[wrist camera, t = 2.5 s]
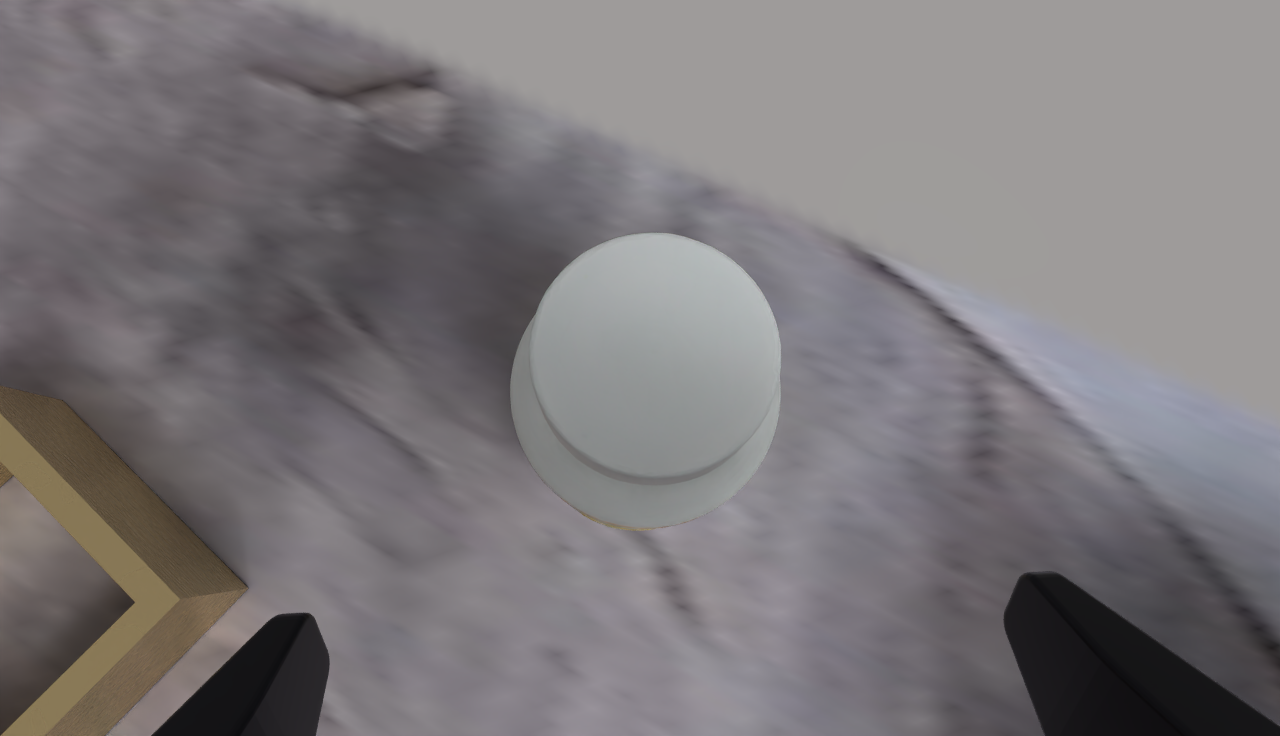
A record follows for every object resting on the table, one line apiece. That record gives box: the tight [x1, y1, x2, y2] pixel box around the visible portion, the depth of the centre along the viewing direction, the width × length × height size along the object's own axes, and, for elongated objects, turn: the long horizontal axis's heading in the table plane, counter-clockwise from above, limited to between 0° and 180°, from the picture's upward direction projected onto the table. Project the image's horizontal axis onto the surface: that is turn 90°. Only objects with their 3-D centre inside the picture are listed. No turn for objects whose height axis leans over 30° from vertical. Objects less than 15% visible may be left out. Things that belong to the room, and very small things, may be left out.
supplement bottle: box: [510, 232, 781, 530], centre depth 15 cm, size 5×5×10 cm
